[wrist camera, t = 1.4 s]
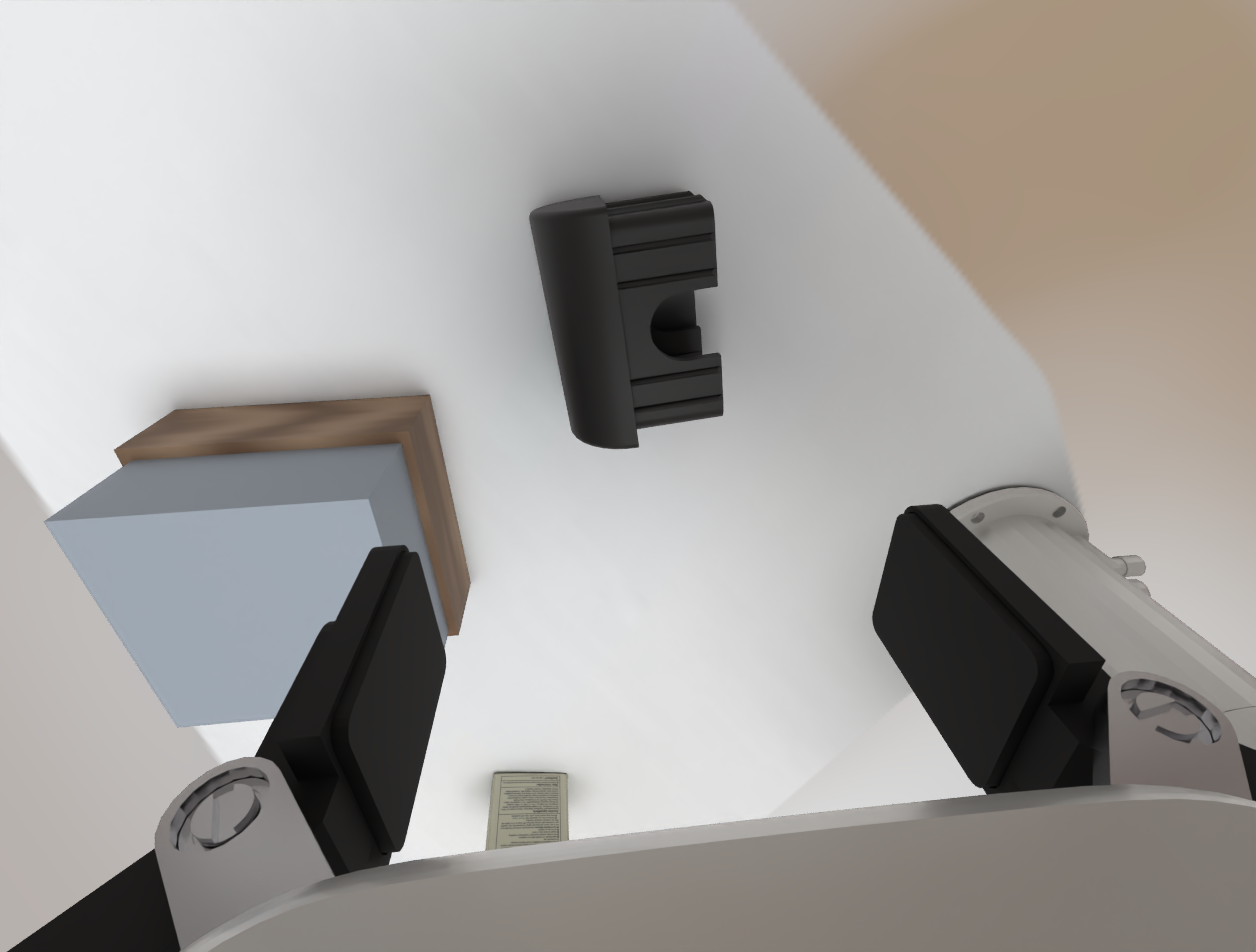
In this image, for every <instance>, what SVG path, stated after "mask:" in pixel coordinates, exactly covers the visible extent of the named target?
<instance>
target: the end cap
mask: <svg viewBox="0 0 1256 952" xmlns="http://www.w3.org/2000/svg"><path fill="white" fill-rule="evenodd" d="M529 220H530V225H531V230H532V235H533V240H534V245H535V250H536V255H537V260H538V265H539V270H540V275H541V280H542V285H543V290H544V295H545V300H546V305H547V310H548V315H549V320H550V325H551V330H552V335H553V340H554V345H555V350H556V355H557V360H558V365H559V370H560V375H561V380H562V385H563V390H564V395H565V400H566V405H567V410H568V416H569V421H570V426H571V430H572V432H573V434H574V435H575V436H576V437H577V438H578V439H579V440H581V441H582V442H584V443H586V444H589V445H592V446H595V447H600V448H608V449H629V448H638V447H639V443H638V436H637V429H641V428H647V427H653V426H660V425H666V424H673V423H679V422H685V421H692V420H698V419H705V418H711V417H717V416H723V388H722V367H721V355H720V354H719V353H712V354H706V355H702V344H701V329H700V327H699V326H696V312H695V297H694V290H697V289H704V288H710V287H717V286H718V283H717V261H716V240H715V220H714V211H713V206H712V204H711V202H710V201H707V200H706V199H705V198H704V197H702V196H701V195H693V194H692V193H691V192H690V191H686V192H679V193H673V194H666V195H659V196H653V197H646V198H640V199H633V200H626V201H620V202H613V203H606V204H605V203H604V202H603V200H602V199H601V197H600V196H592V197H586V198H580V199H575V200H569V201H564V202H560V203H555V204H551V205H547V206H544V207H540V208H538V209H535V210H534V211H532V212H531V214H530V216H529Z"/></svg>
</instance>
